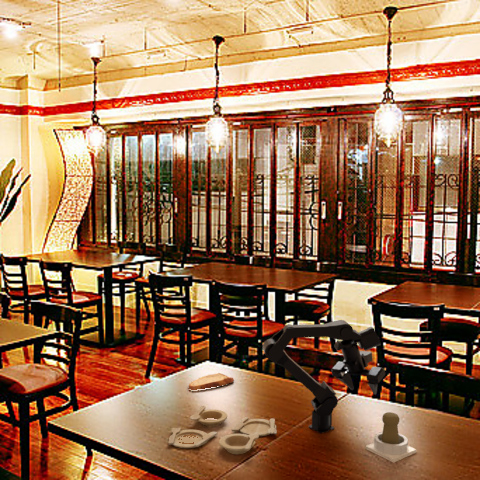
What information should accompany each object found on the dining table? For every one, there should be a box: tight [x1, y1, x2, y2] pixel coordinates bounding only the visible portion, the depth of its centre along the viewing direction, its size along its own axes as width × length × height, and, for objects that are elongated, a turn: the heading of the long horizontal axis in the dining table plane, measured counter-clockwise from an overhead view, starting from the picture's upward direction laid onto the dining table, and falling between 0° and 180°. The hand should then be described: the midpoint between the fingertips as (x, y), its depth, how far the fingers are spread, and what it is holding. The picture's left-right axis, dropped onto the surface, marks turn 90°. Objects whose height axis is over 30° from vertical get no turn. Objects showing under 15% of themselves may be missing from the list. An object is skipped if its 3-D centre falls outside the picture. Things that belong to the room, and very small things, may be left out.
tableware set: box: [167, 405, 278, 455], centre depth 189 cm, size 35×29×4 cm
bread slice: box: [188, 372, 235, 390], centre depth 237 cm, size 18×18×4 cm
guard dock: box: [365, 431, 417, 464], centre depth 177 cm, size 11×11×4 cm
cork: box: [381, 411, 400, 444], centre depth 176 cm, size 6×6×11 cm
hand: (364, 391), depth 197 cm, fingers open, 9 cm apart
